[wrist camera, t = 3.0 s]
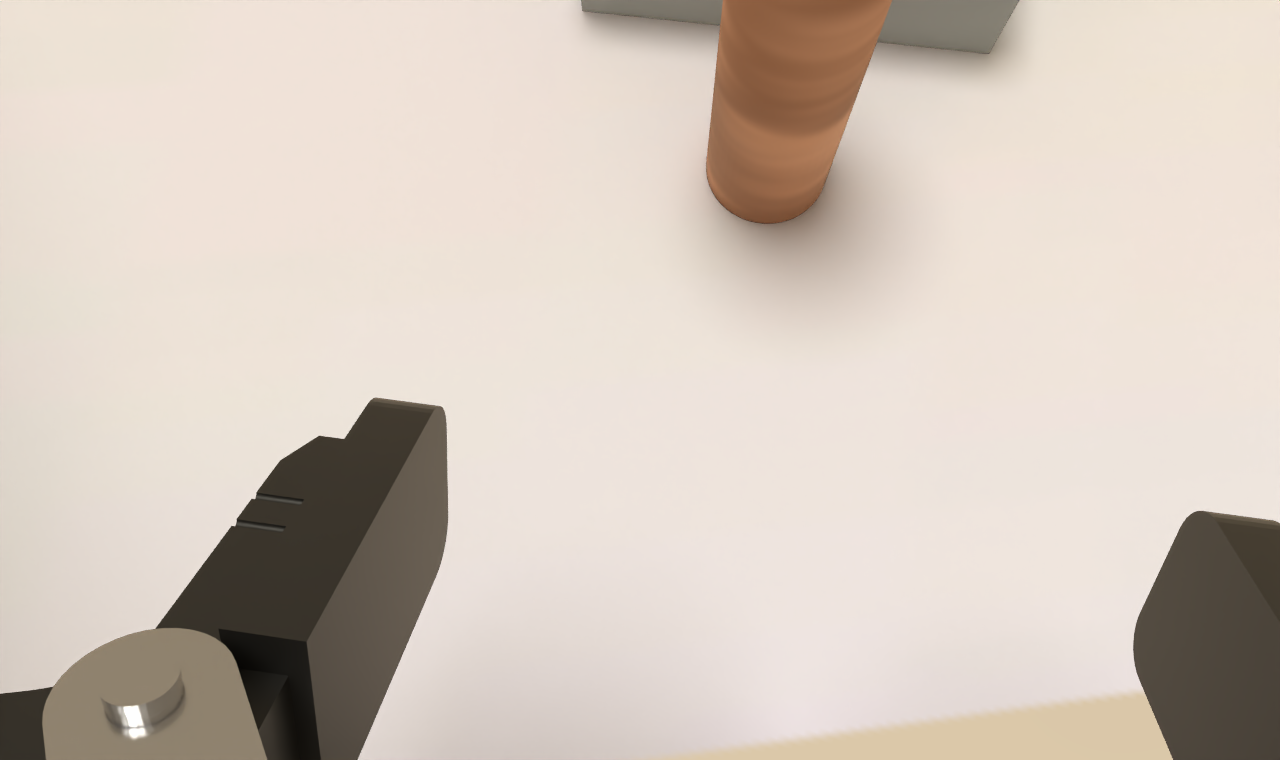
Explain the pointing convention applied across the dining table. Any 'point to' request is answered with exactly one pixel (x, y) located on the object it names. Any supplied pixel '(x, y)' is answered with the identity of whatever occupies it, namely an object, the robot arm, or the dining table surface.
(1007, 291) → the dining table surface
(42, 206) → the dining table surface
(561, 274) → the dining table surface
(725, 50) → the dowel
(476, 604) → the dining table surface
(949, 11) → the pocket block
